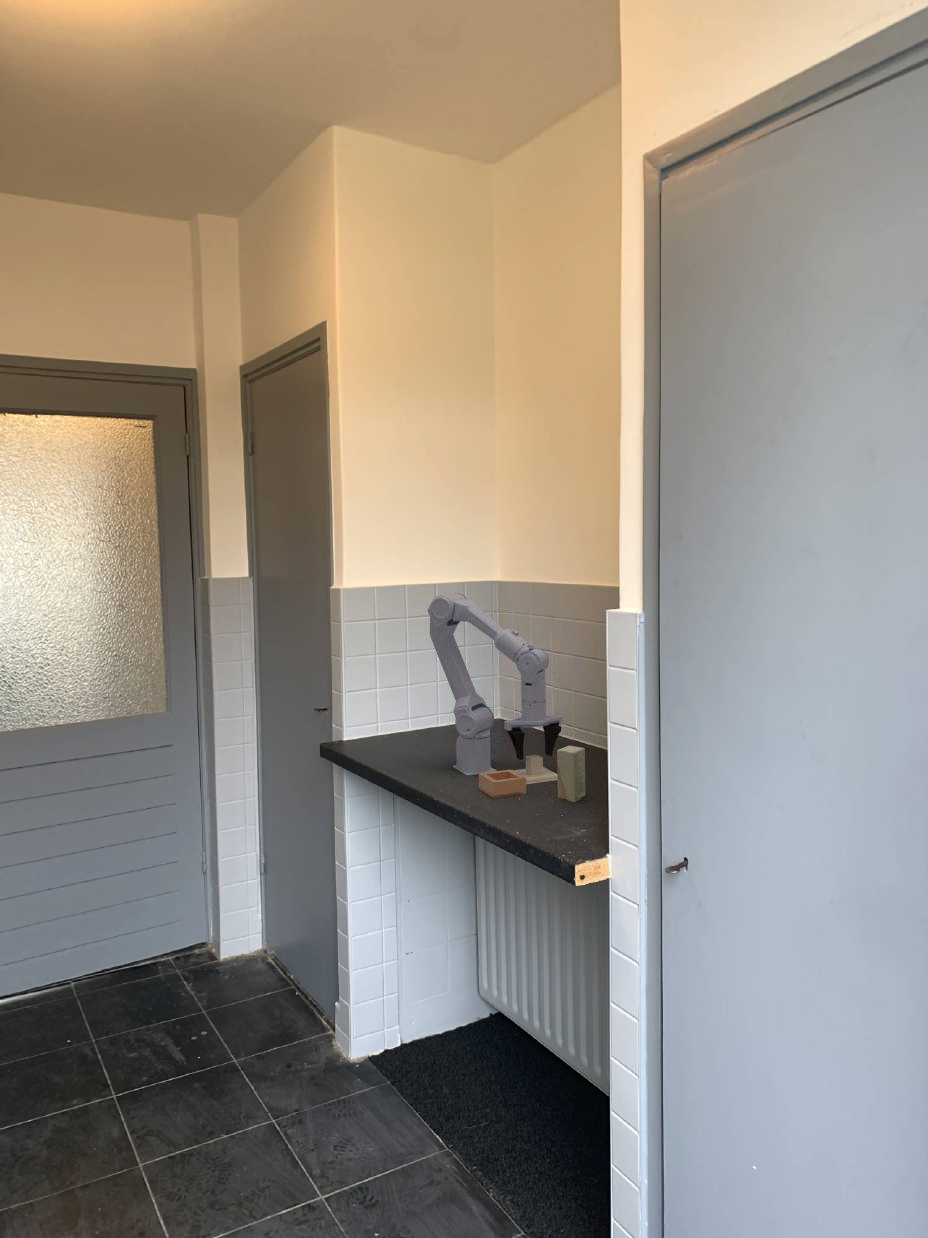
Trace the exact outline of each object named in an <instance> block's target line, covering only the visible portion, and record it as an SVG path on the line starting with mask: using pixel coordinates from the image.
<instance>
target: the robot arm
mask: <svg viewBox="0 0 928 1238" xmlns="http://www.w3.org/2000/svg"><path fill="white" fill-rule="evenodd" d="M430 602H431V603H430V605H429V606H428V608H427V613H428V616H429V636H430V639H431V641H432V644H433V647H434V649H435V652H436V654H437V658H438V660H439V663H440V665H441V666H442V670H443V672H444V675H445V677H446V681H447V682H448V685H449V687H450V690H451V692H452V695H453V697H454V700H455V704H454V707H453V714H454V717H455V718H454V719H455V728H456V732H458V734H460V735H459V736H458V737H457V739H456V743H455V748H456V751H455V752H456V753H455V754H456V764H455V765H453V766H452V767H453V768H454V769H456V771H457V770H458V771H459V772H461V773H462V774H464V776H465V775H466V776H474V775H479V774H480V773H488V772H496V771H498V770H497V769H495V768H493V767H491V728H492V727H493V725H494V723H495V714H494V711H492V709H491V708H490V707H489V706H488V705H487V704H486V701H485V699H484V698H483V697H482V696H480V695H479V694H478V693H477V691H476V688H475V685H474V683H473V681H472V679H471V678H472V677H471V676H470V673H469V670H468V668H467V666H466V664H465V660H464V658H463V656H462V653H461V651H460V648H459V646H458V643H457V641H456V638H455V636H454V634H455V631H456V630H457V628H458V626H459V624H460V623H461V622H466V623H467V622H468V623H469V624H470V625H472V626H474V627H475V628H477V629H478V630H479V631H481V632H482V633H483V634H485V635H486V636H488V637H489V638H490V639H492V640H493V641H494V647H495V649H497V651H499V652H500V653H502V654H503V655H504V656H505V657H507V659H509V660H511V662H513V663H514V664H515V665H516V669H517V671H518V672H519V673H520V685H521V686H520V688H521V689H520V690H521V691H520V692H521V695H520V696H521V700H520V701H521V717H519V718H514V719H510V720H504V723H503V725H504V730H505V731H506V732H507V734H508V736H509V738H510V740H511V743H512V744H513V748H514V750H515V751H514V752H515V754H516V755H515V756H516V759H518V760H520V761H523V760H524V741H525V736H526V733H525V732H524V731H523V729H528V728H536V727H542V729H543V732H544V733H543V734H544V735H543V736H544V751H545V755H546V756H549V757H552V756H553V752H554V749H555V745H556V742H557V739H558V737H559V735H560V734H561V732H562V726H561V725H564V716H563V715H560V714H557V715H547V701H546V699H547V698H546V697H547V695H546V692H547V691H546V689H547V688H546V683H547V682H546V670H547V668H548V666H549V663H550V660H549V659H550V658H549V655H548V654H547V653H546V652H545V650H544V649H543V648H541V647H534V646H535V645H534V644H533V643H532V642H530V643H529V642H528V641H526V640H525V639H524V638H523V637H522V636H520V635H519V634H520V632H519V631H518V630H516V629H514V630H513V629H511V628H506V629H503V627H501V626H500V625H499V624H498V623H497V622H495V621H494V620H493V619H492V618H491V617H490V616H489V615H487V614H486V613H485V612H484V611H483V610H482V609H480V607H479V606H477V604H476V603H475V602H474V601H473V600H472V599H471V598H468V597H467V595H465V594H463V593H462V592H461V593H460V592H456V593H452V594H445V595H443V594H442V595H441V594H439V595H438V596H435V597H434V598H433V599H432V600H431V601H430Z"/></svg>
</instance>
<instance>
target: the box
mask: <svg viewBox="0 0 928 1238" xmlns="http://www.w3.org/2000/svg"><path fill="white" fill-rule="evenodd" d="M556 765H557V767H556V768H557V769H556V770H557V772H556V774H557V780H556V781H557V798H558V799H563V800H565V801H566V802H570V803H576V802H577V801H579V800H582V799H583V798H584V797H586V749H585V748H584V747H579V746H575V745H574V746H573V745H567V746H565V747H562V748H559V749H557V751H556Z"/></svg>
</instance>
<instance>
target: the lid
mask: <svg viewBox="0 0 928 1238" xmlns="http://www.w3.org/2000/svg"><path fill="white" fill-rule="evenodd" d="M512 770H513V771H514V772H516V773H518V774H520V775H522V776H524V777H525V778H526V783H533V784H535V783H534V782H540V783H542V782H541V781H548V782H550V781H549V780H555V781H557V780H556V779H557V772H554V771H552V770H550V769H548V768H546V767H545V766H544V758H543V756H540V755H538V754H531V755H525V768H522V769H515V770H514V769H512Z"/></svg>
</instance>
